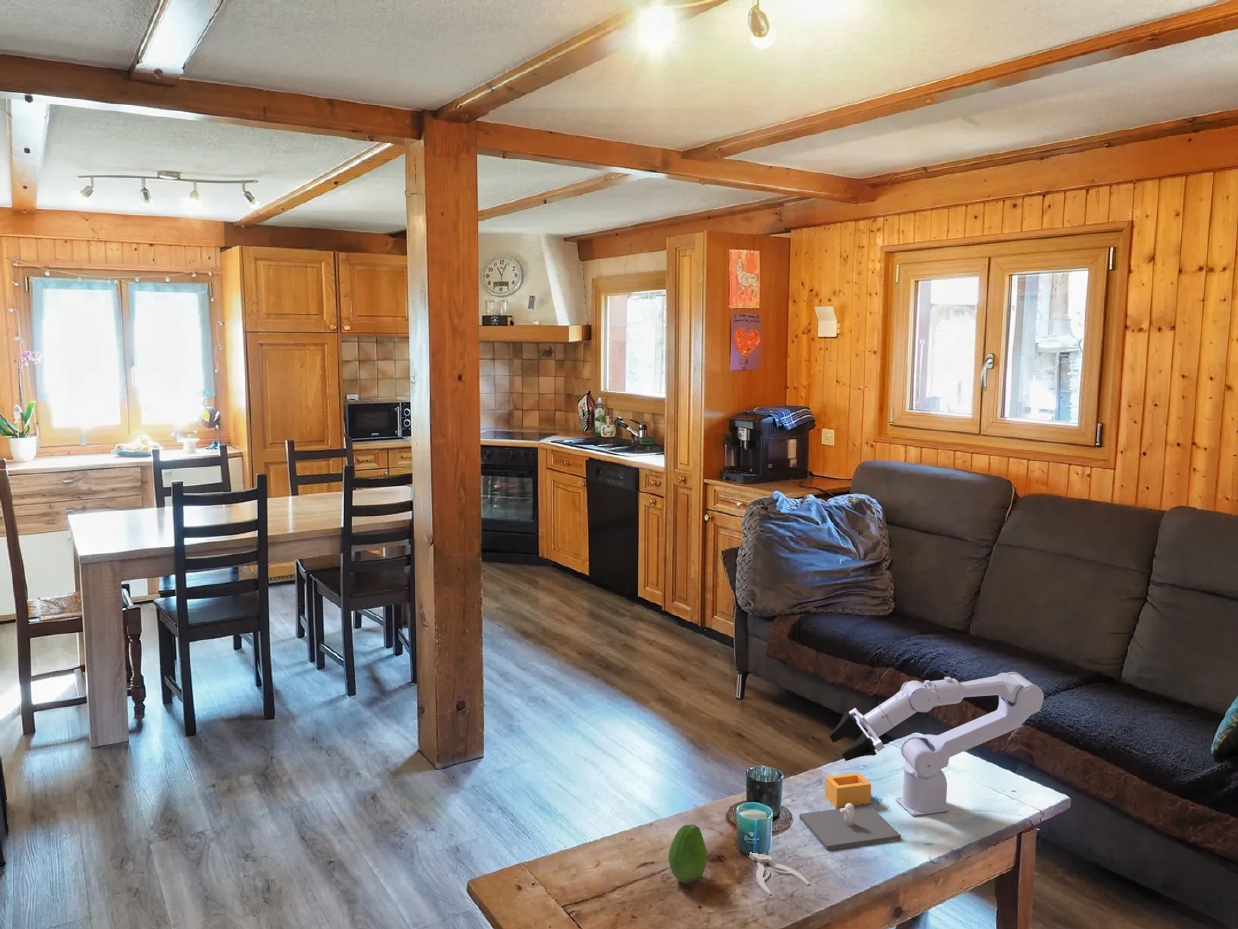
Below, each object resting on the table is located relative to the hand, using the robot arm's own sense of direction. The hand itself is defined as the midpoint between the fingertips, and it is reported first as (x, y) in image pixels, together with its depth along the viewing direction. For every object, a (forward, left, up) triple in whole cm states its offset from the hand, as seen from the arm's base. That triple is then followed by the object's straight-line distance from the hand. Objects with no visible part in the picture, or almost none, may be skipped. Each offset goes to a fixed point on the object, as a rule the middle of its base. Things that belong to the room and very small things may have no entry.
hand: (837, 748), depth 210 cm
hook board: (+1, +9, -15) cm, 18 cm away
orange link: (-5, -3, -15) cm, 17 cm away
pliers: (+25, +19, -16) cm, 35 cm away
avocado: (+43, +19, -16) cm, 49 cm away
